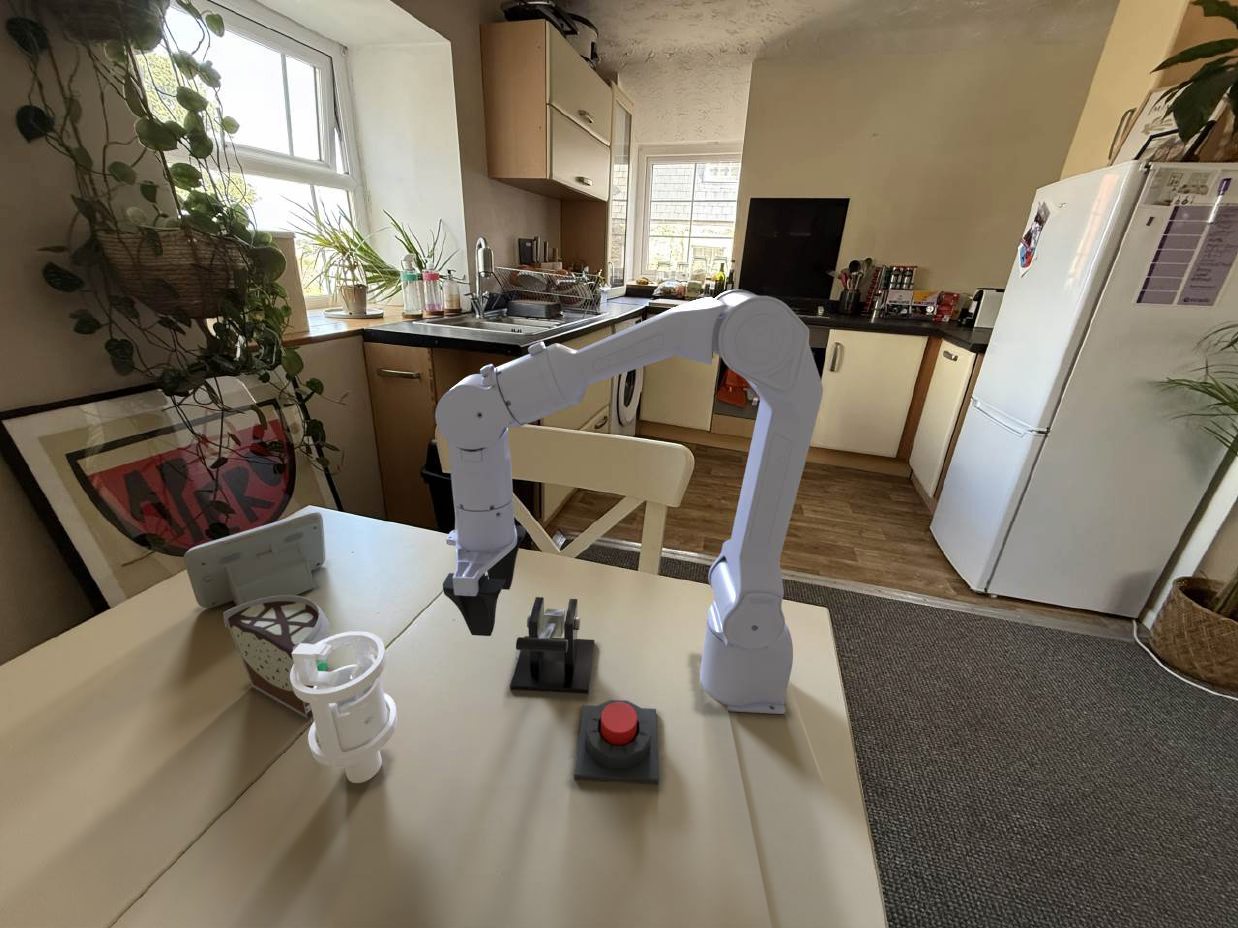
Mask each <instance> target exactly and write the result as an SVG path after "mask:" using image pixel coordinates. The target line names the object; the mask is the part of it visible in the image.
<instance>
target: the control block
mask: <svg viewBox="0 0 1238 928" xmlns="http://www.w3.org/2000/svg"><path fill="white" fill-rule="evenodd" d="M615 702H622V703H626V704H628V705H630V706H631V707H632V708H633V709H634V710H635V712H636V714H637V730H636V735H635V737H634V739H633V740H632V741H631V742H629V743H628V744H625V745H620V746H618V745H613V744H610V743H608V742H607V741H606V740H605V739H604V738H603V736H602V734H601V714H602V711H603V710H604V708H605V707H606V706H608V705H609V704H612V703H615ZM581 706H582V708H581V715H580V724H579V732H578V739H577V747H576V756H575V763H574V764H575V766H574V772H573V780H576V781H592V782H594V781H595V782H608V783H609V782H610V783H611V782H612V783H630V784H644V785H646V784H647V785H659V784H660V770H659V769H660V767H659V745H658V724H657V723H658V721H657V719H658V718H657V708H650V707H648V708H647V707H641V706H639V705H637V704H635V703H633V702H632V701H630V700H625V699H610V700H608V701H605V702H603V703H600V704H598V705H595V704H582V705H581Z"/></svg>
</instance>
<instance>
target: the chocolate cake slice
mask: <svg viewBox="0 0 1238 928" xmlns="http://www.w3.org/2000/svg"><path fill="white" fill-rule="evenodd" d="M222 614H223V616H222V618H223V622H224V623H223V624H224V627H225V628H227V627H228V629H229V632H230V635H231V637H232V639H233V642H234V644H235V647H236V649H237V652H238V655H239V657H240V660H241V662H242V664H243V667H244V670H245V673H246V674H247V677H248V680H249V682H250V685H251V687H252V688H253V689H255V690H257V691H259V692H261V693H263V694H264V695H266V696H268V697H269V698H271V699H272V700H274V701H276V702H278V703H280V704H281V705H283V706H285V707H287V708H288V709H290V710H292V711H294V712H296V713H297V714H299V715H301V716H302V717H303V718H305V719H309V718H310V717H311V716H313V713H312V709H311V706H310V703H307V702H304V701H302V700H301V699H299V698H298V697H297V696H296V695H295V693H294V691H293V687H292V684H291V680H290V672H291V668H292V666H293V664H294V661H293V657H292V652H293V651H294V649H295V648H296V647H297V646H298V645H299V644H300V643H305V644H316V643H318V642H319V641H321V640H323V639H326V638H328V637H329V633H330V622H329V620H328V618H327V615H326V614H325V613H324V611H323V609H322V608H321V607H320V606H319V605H318V604H317V603H316V602H314V600H312V599H310V598H308V597H305V596H301V595H279V596H271V597H266V598H261V599H257V600H253V601H250V602H247V603H244V604H241V605H239V606H237V605H236V606H233V607H232V608H230V609H227V610H225V611H223V612H222ZM315 661H316V665H317V669H318V671H328V672H329V668H328V660H327V658H326V660H320V659H315ZM304 686H307V687H309V688H313V687H314V686H310V685H304Z"/></svg>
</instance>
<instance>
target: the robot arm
mask: <svg viewBox="0 0 1238 928" xmlns="http://www.w3.org/2000/svg"><path fill="white" fill-rule="evenodd" d="M809 342H810V329H809V327H808V326H807V325H806V324H805V323H804V322H803V320H801V319H800V317H799V316H798V315H797V314H796V313H795V312H794V311H793V310H792V308H791V307H789V305H788V304H787V303H785V302H784V301H782V300H780V299H778V298H776V297H772V296H769V295H757V294H755V293H754V292H751V291H748V290H745V289H730V290H727V291H724V292H722V293H720V294H719V295H717V296H716V297H715V298H713V297H712V296H709V297H704V298H699V299H696V300H692V301H690V302H687V303H684V304H680V305H677V306H676V307H673V308H670V309H668V310H665V311H663V312H661V313H659V314H656V315H654V316H652V317H649V318H648V319H646V320H643V321H641V322H638V323H635V324H634V325H631V326H630V327H628V328H625V329H623V330H621V331H618V332H615V333H614V334H612V335H609V336H607V337H605V338H602V339H601V340H597V341H596V342H593V343H591V344H589V345H586V346H585V347H582V348H580V349H574V348H570V347H568V346H565V345H563V344H561V343H557V342H555V343H553V344H550V345H548V346H546V345H545V343H544V341H539V342H537V343H536V342H535V343H534V344H531V345H530V346H529V347H528V348H527V351H528V354H525V355H523V356H520V357H518V358H516V359H513V360H511V361H508V362H506V363H503V364H501V365H499V366H496V367H495V366H494V364H493V363H490V364H487V365H485V366H482V368H480V370H479V373H475V374H470V375H468V376H466V377H464V378H463V379H462V380H460V381H459V382H458V383H457V384H455V385H454V386H453V387H451V388H450V389H449V390H447V391H446V392H445V393H444V394H443V395H442V397H441V398H440V400H439V401H438V403H437V404H436V408H435V412H434V413H435V415H434V416H435V423H436V426H437V429H438V431H439V433H440V435H442V436H443V438H444V439H445V440H446V441H447V443H448V444H447V446H448V447H447V448H448V454H449V455H448V456H449V457H448V461H449V470H450V471H449V472H450V480H451V491H452V500H453V508H454V518H455V527H456V529H452V530H451V531H450V532H449V533H448V534H447V536H446V538H445V540H446V545H448V546H454V547H455V571H454V572H449V573H448V574H447V576H446V577H445V579H444V581H443V582H442V590H443V594H444V596H445V597H447V599H449V600H450V601H451V602H452V603H453V604H454V605H455V606H456V608H457V609H458V611H460V614H461V615H462V617H463V619H464V622H465V624H466V626H467V628H468V630H469V632H470V634H471V636H479V637H491V636H492V634H493V632H494V629H495V624H496V614H497V613H496V612H497V605H498V599H499V596H500V594H501V592H502V590H508V591H509V590H511V586H512V584H513V579H514V576H515V575H514V574H515V568H516V561H517V557H518V553H519V550H520V546H521V544H522V543H523V540H524V539H525V536H526V535H527V534H526V533H527V529H526V527H525V526H522V525H516V523H515V510H514V507H515V506H514V488H513V487H514V486H513V471H512V469H513V468H512V455H511V451H510V441H509V440H510V437H509V428H520V427H523V426H525V425H528V424H530V423H533V422H536V421H539V420H541V419H544V418H546V417H549V416H551V415H554V414H557V413H559V412H562V411H564V410H567V409H569V408H571V407H574V406H577V405H580V404H582V402H583V400H584V398H585V395H586V393H587V390H588V388H589V386H590V385H593V384H596V383H599V382H602V381H605V380H608V379H610V378H613V377H616V376H620V375H622V374H625V373H628V372H631V371H633V370H637V369H640V368H643V367H645V366H649V365H652V364H655V363H657V362H660V361H663V360H667V359H670V358H673V357H675V358H681V359H685V360H689V361H693V362H697V363H699V364H703V365H704V364H705V365H710V366H711V365H712V364H713V353H714V354H716V355H717V356H718V357H720V358H721V359H722V361H723V362H724V364H725V365H726V366H727V367H728V368H729V369H730V370H731V371H733V372H734V373H735V374H737V375H738V376H740V377H741V378H743V379H744V380H745V381H746V382H747V383H748V384H749V385H750V387H751V388H752V389H753V390H754V392H755V393H756V394H757V395H758V397H759V404H758V409H757V414H756V419H755V424H754V428H753V432H752V437H751V441H750V448H749V451H748V457H747V461H746V466H745V471H744V474H743V480H742V483H741V484H742V485H741V489H740V494H739V498H738V503H737V507H736V512H735V513H736V514H735V516H734V522H733V527H732V530H731V536H730V539H727V540H725V541H724V542H723V543H722V545H721V546H722V547H721V551H720V553H719V555H718V557H717V558H716V559H715V561H714V562H713V563H712V564H711V565H710V568H709V569H708V577H707V579H708V583H709V586H710V588H711V589H712V592H713V596H714V600H713V601H712V604H711V606H710V607H709V609H708V611H707V616H706V625H705V632H704V638H703V639H704V640H703V647H702V654H701V655H702V656H701V661H700V670H699V671H700V672H699V681H700V685H701V687H702V688H703V690H704V691H705V692H706V694H707V695H708V696H710V697H711V698H712V699H714V700H715V701H717V702H719V703H720V704H723V705H726V708H727V711H728V712H734V713H735V712H736V713H737V712H738V713H753V714H754V713H755V714H773V715H774V714H775V715H784V714H785V713H786V706H785V700H786V696H787V691H788V687H789V682H790V678H791V673H792V669H793V663H794V661H793V660H794V646H793V640H792V639H793V638H792V635H791V632H790V629H789V626H788V625H787V624H786V618H785V615H784V612H783V608H782V605H783V604H782V603H783V599H784V596H785V589H784V583H783V575H782V567H781V556H782V552H783V548H784V545H785V541H786V537H787V533H788V531H789V525H790V521H791V517H792V514H793V510H794V506H795V503H796V500H797V495H798V492H799V487H800V483H801V479H802V476H803V472H804V470H805V469H804V468H805V465H806V460H807V457H808V454H809V449H810V445H811V441H812V438H813V434H814V431H815V426H816V423H817V418H818V414H819V412H820V408H821V403H822V400H823V392H824V386H823V383H822V379H821V375H820V374H819V370H818V367H817V364H816V361H815V358H814V356H813V351H812V349H811V346H810V343H809ZM486 573H487V574H486Z"/></svg>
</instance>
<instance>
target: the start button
mask: <svg viewBox="0 0 1238 928" xmlns="http://www.w3.org/2000/svg"><path fill="white" fill-rule="evenodd" d="M636 730H637V714H636V712H635V710H634V709H633V708H632V707H631V706H630V705H628V704H626V703H622V702H615V703H612V704H609V705H608V706H606V707H605V708H604V710H603V711H602V714H601V734H602V736H603V738H604V739H605V740H606V741H607V742H608V743H610V744H613V745H618V746H620V745H625V744H628V743H629V742H631V741H632V740H633V739H634V737H635V735H636Z"/></svg>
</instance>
